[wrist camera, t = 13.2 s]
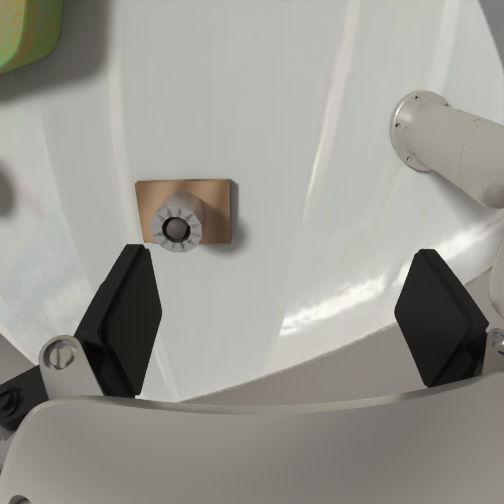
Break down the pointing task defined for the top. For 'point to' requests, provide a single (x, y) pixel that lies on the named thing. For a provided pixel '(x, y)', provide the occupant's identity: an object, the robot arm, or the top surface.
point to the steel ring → (187, 210)
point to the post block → (216, 226)
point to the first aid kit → (28, 31)
